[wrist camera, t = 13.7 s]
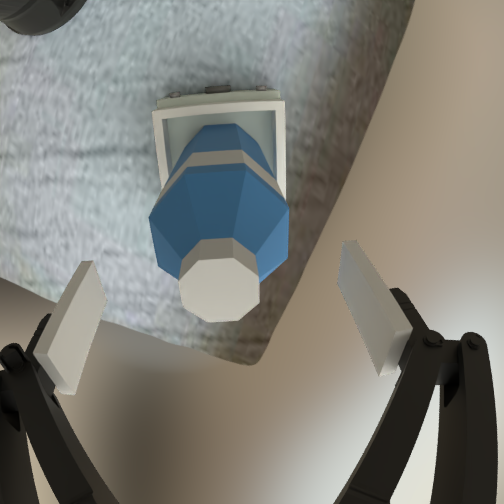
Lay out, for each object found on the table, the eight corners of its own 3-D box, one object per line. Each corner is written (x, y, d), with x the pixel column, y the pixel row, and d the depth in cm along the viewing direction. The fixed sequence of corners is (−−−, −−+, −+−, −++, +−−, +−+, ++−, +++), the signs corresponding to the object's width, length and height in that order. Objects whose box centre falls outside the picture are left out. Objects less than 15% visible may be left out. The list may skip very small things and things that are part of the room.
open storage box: (163, 91, 36) (150, 95, 30) (273, 83, 37) (284, 84, 30) (177, 209, 45) (169, 236, 38) (276, 202, 46) (285, 227, 39)
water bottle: (273, 136, 36) (347, 239, 15) (245, 205, 40) (270, 367, 19) (196, 110, 34) (146, 175, 12) (173, 183, 38) (116, 332, 17)
